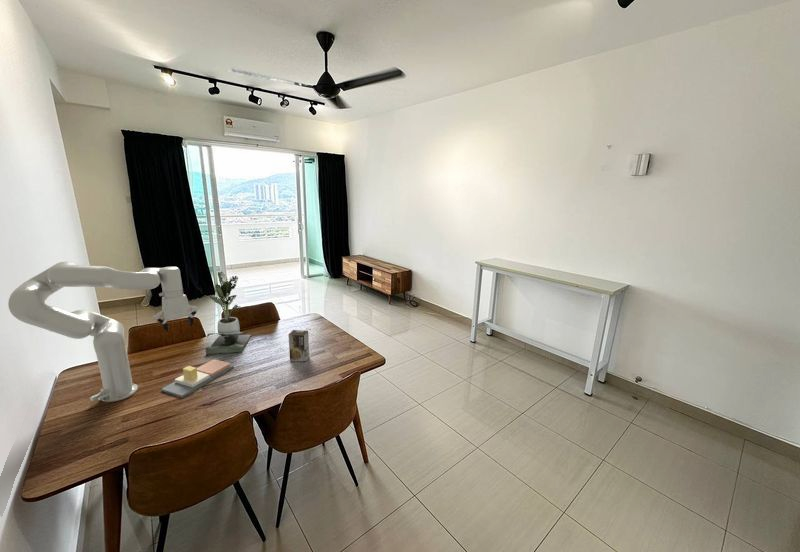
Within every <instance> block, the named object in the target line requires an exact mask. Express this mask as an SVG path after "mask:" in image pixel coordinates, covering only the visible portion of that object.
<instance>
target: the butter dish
mask: <svg viewBox="0 0 800 552" xmlns="http://www.w3.org/2000/svg"><path fill="white" fill-rule="evenodd" d="M197 368H198V367H194V366H192V365H187V366H185V367H183V368H182V374H183V375H180V376H178V377H176V378H175V379H174V382H176V383H179V384H182V385H186V386H189V387H192V388H193V387H194V386H196V385H198V384H200V383H201V382H203V381H205V380H207V379H208V378H210V375H209V374H205V373H202V372H198V371H197Z"/></svg>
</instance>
